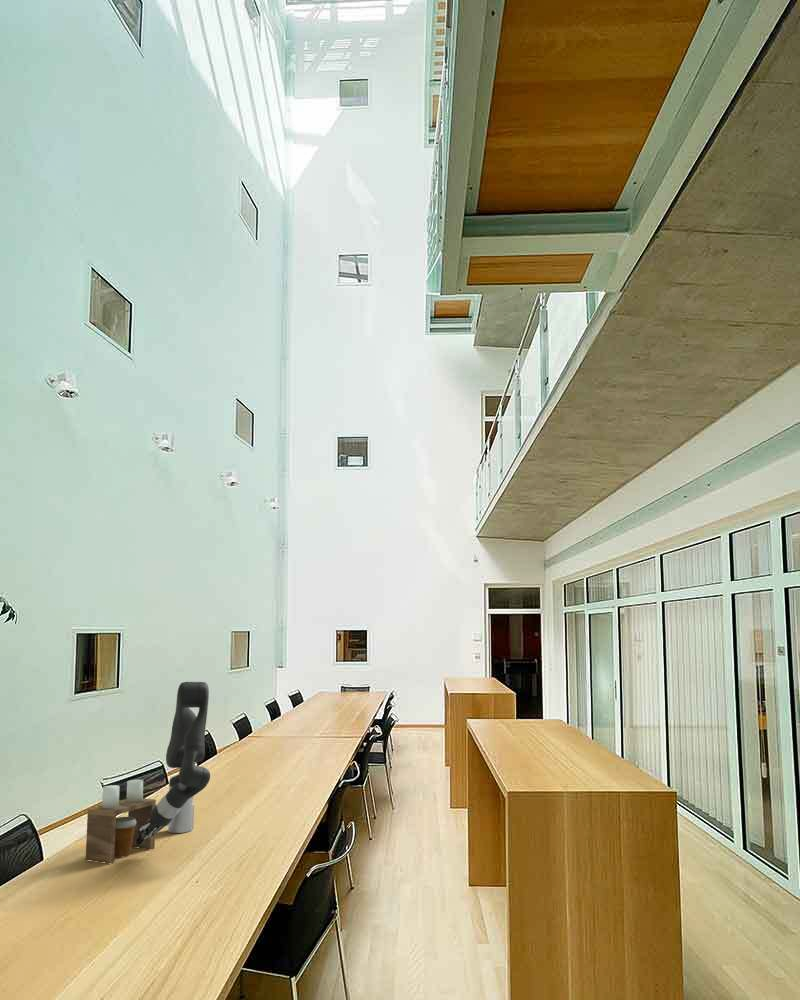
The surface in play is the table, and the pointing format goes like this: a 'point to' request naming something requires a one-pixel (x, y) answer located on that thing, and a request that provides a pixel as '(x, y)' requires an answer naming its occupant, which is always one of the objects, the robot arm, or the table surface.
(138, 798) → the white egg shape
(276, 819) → the table surface
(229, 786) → the table surface
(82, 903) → the table surface
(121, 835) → the disposable coffee cup
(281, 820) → the table surface
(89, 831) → the wooden bench stand
